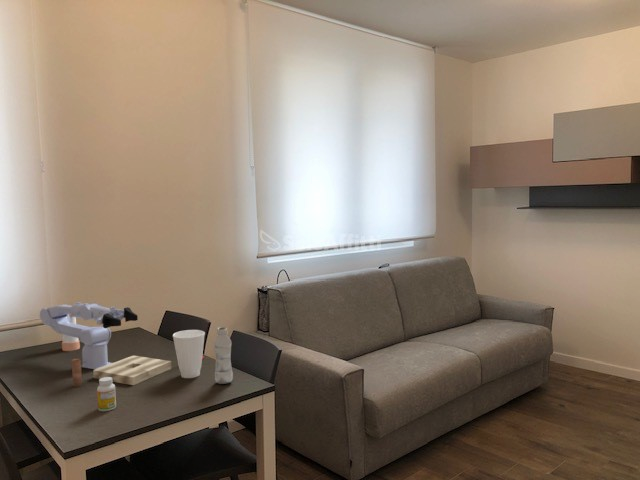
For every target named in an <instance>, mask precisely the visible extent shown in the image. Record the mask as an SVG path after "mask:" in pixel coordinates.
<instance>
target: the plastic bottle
mask: <svg viewBox="0 0 640 480" xmlns="http://www.w3.org/2000/svg"><path fill="white" fill-rule="evenodd" d="M216 335H217V336H216V337H215V338H214V340H213V348H214V354H215V355H214V357H215V372H214V379H215V382H216V383H217V384H219V385H224V384H225V385H226V384H230V383H231V382H232V381H233V377H234V373H233V368H232V362H231V361H232V360H231V355H232V354H231V353H232V340H231V338H230V336H228V327H223V326H221V327H217V328H216Z"/></svg>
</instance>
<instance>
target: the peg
mask: <svg viewBox="0 0 640 480" xmlns="http://www.w3.org/2000/svg"><path fill="white" fill-rule="evenodd" d="M81 366H82V359H81V358H73V359H71V371H72V372H71V373H72V386H73V388H79V387H81V386H83V376H82V375H83V374H82V367H81Z"/></svg>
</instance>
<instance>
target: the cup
mask: <svg viewBox="0 0 640 480" xmlns="http://www.w3.org/2000/svg"><path fill="white" fill-rule="evenodd" d="M205 336H206V332H205V331H204V330H200V329H186V330H180V331H176V332H174V333H173V334H172V339H173V343H174V349H175V354H176V355H175V356H176V358H177V365H178V370H179V371H180V376H181V378H184V379H194V378H196V377H199V376H200V375H201V369H202V363H203V362H202V361H203V359H202V355H203V354H204V353H203V351H204V343H205ZM203 356H204V355H203Z"/></svg>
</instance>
